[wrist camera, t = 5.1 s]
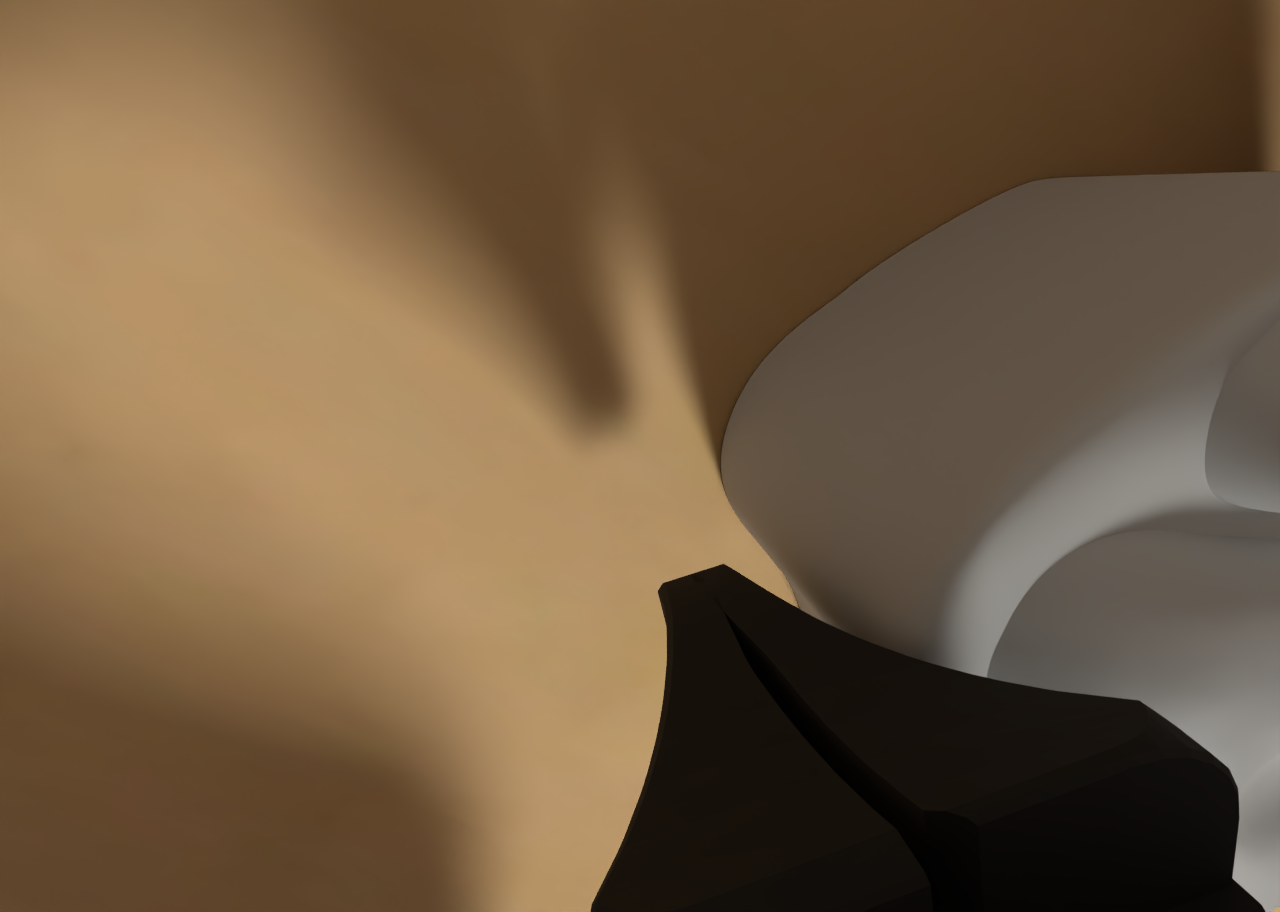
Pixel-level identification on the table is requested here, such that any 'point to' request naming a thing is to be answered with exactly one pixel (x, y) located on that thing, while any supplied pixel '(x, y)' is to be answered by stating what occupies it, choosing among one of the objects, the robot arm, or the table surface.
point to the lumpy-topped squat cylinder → (1052, 458)
